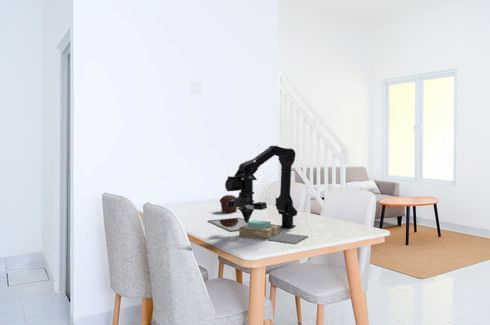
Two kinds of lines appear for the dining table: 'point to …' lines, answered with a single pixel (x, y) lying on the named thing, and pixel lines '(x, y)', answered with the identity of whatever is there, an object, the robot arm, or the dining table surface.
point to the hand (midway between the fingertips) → (246, 222)
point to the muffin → (224, 204)
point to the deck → (259, 232)
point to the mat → (288, 238)
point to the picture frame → (229, 223)
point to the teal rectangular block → (258, 224)
